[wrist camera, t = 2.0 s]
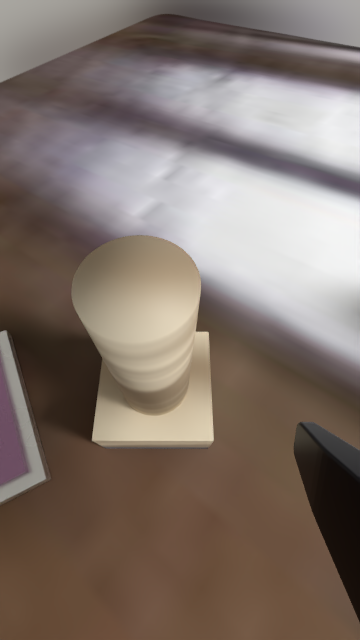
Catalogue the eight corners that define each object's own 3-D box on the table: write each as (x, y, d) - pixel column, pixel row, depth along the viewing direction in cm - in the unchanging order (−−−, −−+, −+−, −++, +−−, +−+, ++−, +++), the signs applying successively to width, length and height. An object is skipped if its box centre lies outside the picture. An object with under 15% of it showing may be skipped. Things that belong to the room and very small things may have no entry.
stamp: (207, 448, 18) (255, 389, 7) (105, 448, 18) (-2, 388, 7) (203, 353, 21) (234, 209, 10) (115, 353, 21) (50, 206, 10)
